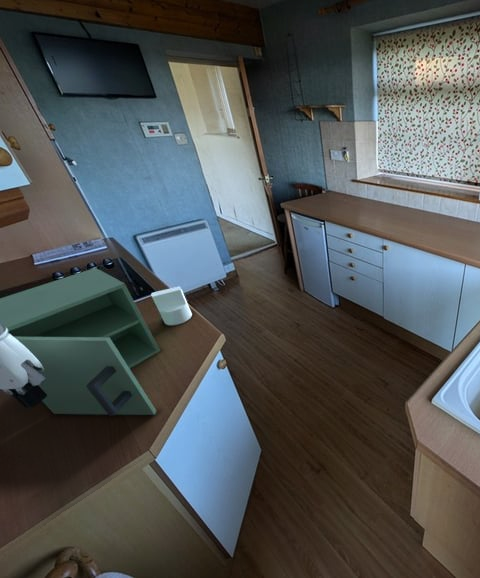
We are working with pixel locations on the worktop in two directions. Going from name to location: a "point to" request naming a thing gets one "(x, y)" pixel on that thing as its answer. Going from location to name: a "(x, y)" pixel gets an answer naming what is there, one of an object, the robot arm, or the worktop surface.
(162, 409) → the worktop surface
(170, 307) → the base with upright slab
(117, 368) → the cupboard door
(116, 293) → the cupboard
